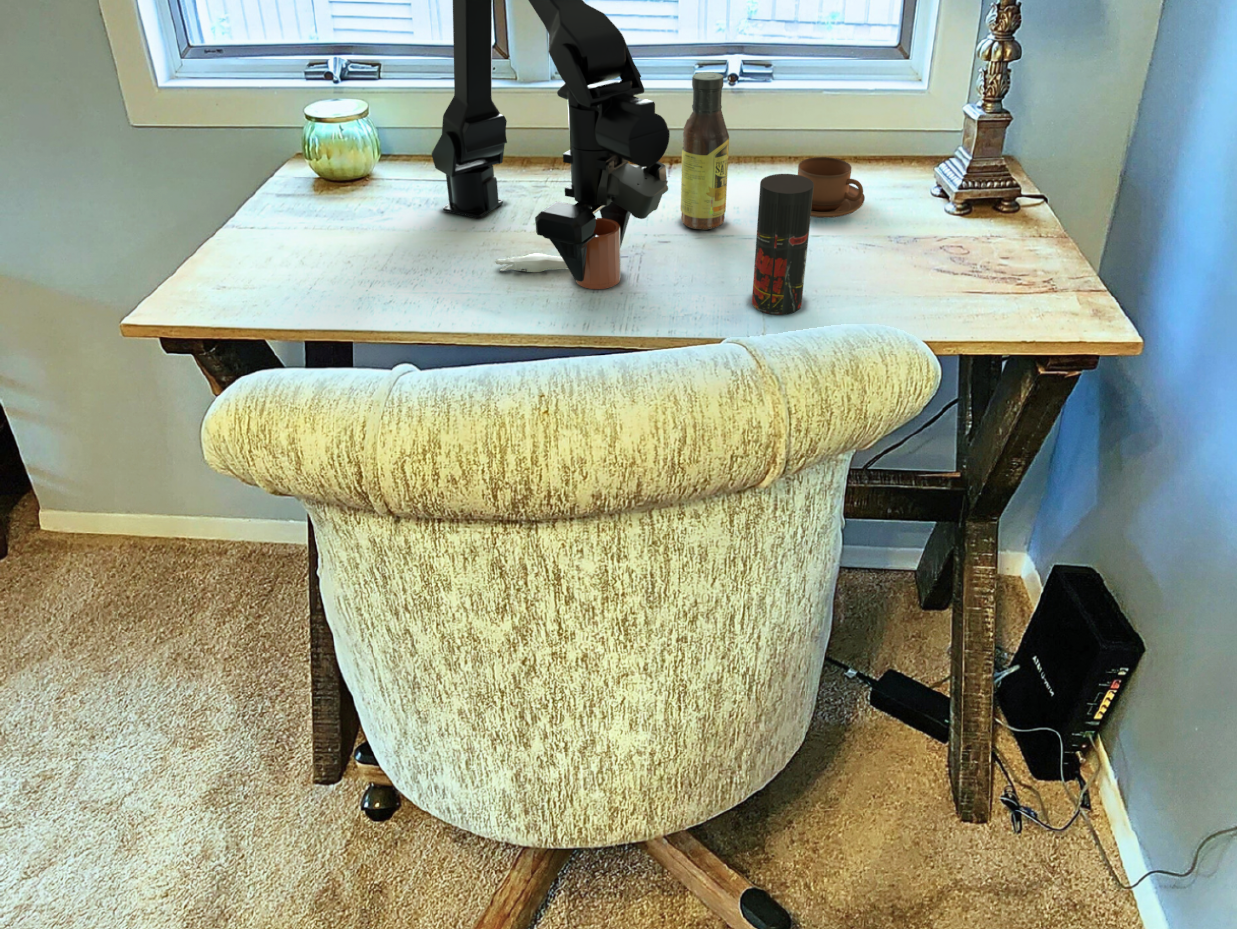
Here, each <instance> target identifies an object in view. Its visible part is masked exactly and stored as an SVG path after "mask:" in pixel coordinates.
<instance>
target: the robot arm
mask: <svg viewBox="0 0 1237 929" xmlns="http://www.w3.org/2000/svg"><path fill="white" fill-rule="evenodd" d="M528 2H529V4H530V5H531V6H532V8H533V10H534V11H535V13H536V14H537V16H538V17H539V19H540V21H541V23H542V24H543V25H544V27H545V30H546V31H547V33H548V49H547V50H548V54H549V57H551V60H552V63H553V64H554V66H555V68H556V71H557V73H558V75H559V76H560V78H561V80H562V81H563V83H564V84H563V85H562V86H561V87H560V88H559V89H558V90H556V94H557V97H558V98H561V99H564V100H566V101H567V114H568V138H569V139H568V140H569V150H567V151H565V152H563V153H562V162H563V163H564V164H565V163H566V164H570V182H571V183H570V184H568V185H567V186H565V187H564V197H568V198H574V202H576V203H575V204H573V203H567V202H562V201H557V200H556V201H554V202H553V203H552V204H550V205H548V206H546V208H544V209H543V210H541V211H540V212H539V213H538V214H537V215H536V216H535V217H534V220H535V223H534V224H535V233H536V235H538V236H540V237H543V238H544V239H548V240H549V241H550V242H551V244H552V245H553V247H554V249H556V251H557V252H558V254H559V255H560V256H561V257H562V258H563V260H564V262H565V264H566V265H567V267H568V268H567V269H568V270H569V272H570V274H571V275H572V278H573V279H574V281H575V282H576V281H581V282H582V281H583V280H584V276H585V267H586V253H587V244H588V242H590V241H591V240H592V239H593V238H594V237H595V236H596V235H597V234H596V233H593V232H594V229H595V227H596V218H597V216H596V215H595V214H596V213H598V212H599V213H600V218H606V219H611V220H613V221H615V222H617V223H618V224H619V225H620V249H621V248H622V244H623V241H624V239H625V238H624V237H625V233H626V231H627V227H628V224H629V221H630V217H631V216H633V217H634V218H636V219H640V220H644V219H646V218H648V216H649V215H651V213H652V212H654V211H656V210H658V208H659V205H660V202H661V200H662V197H663V195H664V194H666V193H667V192H668V191H669V186H668V182H669V181H668V180H667V178H668V176H667V167H666V164H664V163H662V162H660V160H661V159H662V158H663V157H664V155H665V153H666V151H667V149H668V146H669V143H670V137H671V136H670V132H671V131H670V129H669V127H668V124H667V122H666V120H665V118H664V117H663V116H662V115H660V114H659V113H656V102H655V101H653V100H651V99H647V98H646V99H645V98H644V99H643V98H640V97H637V95H642V94H644V93H645V87H644V84H643V82H642V79H641V78H642V74H641V73H640V71H639V69H638V68H637V66H636V63H635V62H634V59H633V56H632V54H631V52H630V49H629V46H628V45H627V42H626V39H625V37H624V35H623V33H622V32H621V31H620V30H619V29H618V27H617V26H616V25H615V24H614V23H613V22H612V20H611V19H610V18H609V17H608V16H607V15H606V14H605V12H603V11H600V10H599V9H598V8H594V7H593V6H591V5H589V4H587V3H586V2H585V1H584V0H528ZM452 35H453V36H452V37H453V38H452V39H453V43H452V44H453V80H454V81H453V86H454V87H453V88H454V90H453V91H454V92H453V97H452V99H451V100H450V102H449V104H448V106H447V107H446V109H445V111H444V113H443V115H442V125H441V135H440V137H439V138H438V141H437V142H436V144H435V146H434V148H433V149H432V151H431V157H432V161H433V165H434V168H435V169H436V170H437V171H438V172H439V171H440V172H441V173H443V174H445V179H446V188H447V189H446V190H447V196H448V197H447V198H448V203H447V204H445V205H443V206H442V211H443V212H446V213H450V214H451V213H452V214H456V215H461V216H464V217H465V216H466V217H470V218H474V219H481V218H483V217H484V216H485V215H487V214H489V213H490V212H492V211H493V210H495V209H496V208H498V207H500V206H501V205H503V204H504V200H503V199H501V198H499V191H498V180H497V177H496V176H495V170H494V166H495V165H500V164H501V165H502V164H503V161H504V155H505V154H504V153H505V145H506V144H508V141H507V140H508V139H507V132H506V130H507V122H508V120H507V117H506V116H505V115H503V114H501V112H500V110H499V108H498V107H497V105H496V104H495V102H494V100H493V96H492V95H493V0H452ZM617 78H620V79H621V80H617V81H613V82H610V83H609V81H611V80H616V79H617ZM604 82H608V83H605V84H602V85H597V86H596V84H599V83H604ZM630 163H631V164H630Z"/></svg>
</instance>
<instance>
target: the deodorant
mask: <svg viewBox="0 0 1237 929" xmlns="http://www.w3.org/2000/svg"><path fill="white" fill-rule="evenodd" d="M813 189H814V183H813V182H812V181H811V180H810V179H808V178H806V177H804V176H800V175H798V174H795V173H776V174H771V175H768V176H765V177H763V178H762V179H761V180H760V183H759V195H758V196H759V197H758V210H757V223H756V224H757V225H756V238H755V251H754V252H755V254H754V266H753V279H752V280H753V281H752V294H751V305H752V307H753V308H754V309H755V310H756V311H758V312H760V313H763V314H766V315H771V316H772V315H773V316H785V315H786V316H787V315H791V314H795V313H796V312H798V311H799V310H800V309H801V307H802V303H803V293H804V284H805V275H806V266H807V265H806V264H807V257H808V256H807V255H808V246H809V245H808V244H809V237H810V236H809V235H810V228H811V227H810V226H811V208H812V198H813Z"/></svg>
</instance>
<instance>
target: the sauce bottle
mask: <svg viewBox="0 0 1237 929" xmlns="http://www.w3.org/2000/svg"><path fill="white" fill-rule="evenodd" d="M691 80H692V81H691V86H692V87H691V88H692V105H691V108H692V112H691V114H690V115H689V117H688V118H687V119H686V121H685V124H684V126H683V133H682V138H683V140H682V147H681V178H680V180H681V183H680V184H681V188H680V211H681V219H680V220H681V222H682V224H683V225H684V226H686V227H688V228H690V229H694V230H712V229H716V228H718V227H720V226H721V225H723V224H724V222H725V215H726V212H727V211H726V208H727V190H728V171H729V152H730V151H729V150H730V135H729V132H728V128H727V125H726V122H725V118H724V115H723V111H722V108H723V106H722V93H723V87H724V75H723V74H721V73H719V72H713V71H712V72H711V71H704V72H697V73H695V74H693V75H692V77H691Z"/></svg>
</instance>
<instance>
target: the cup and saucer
mask: <svg viewBox="0 0 1237 929" xmlns="http://www.w3.org/2000/svg"><path fill="white" fill-rule="evenodd" d="M797 175H800V176H804V177H806V178H808V179H810V180H811V181H812V182H813V183H814V189H813V198H812V208H811V217H812V218H819V219H821V218H822V219H823V218H824V219H829V218H838V217H844V216H847V215H848V216H849V215H850V214H853V213H854V212H856V211H857V210H859V209H860V208H861V207H863V205H864V203H865V199H866V196H865V194H864V187H863V184H862V183H861V182H860V181H859V180H857V179H855V178H851V175H852V165H851V164H850V163H849V162H847V161H845V160H843V159H840V158H837V157H828V156H815V157H814V156H813V157H809V158H805V159H802V160H801V161H800V162H799V163H798V166H797ZM854 185H855V186H856V187H855V186H854Z"/></svg>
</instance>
